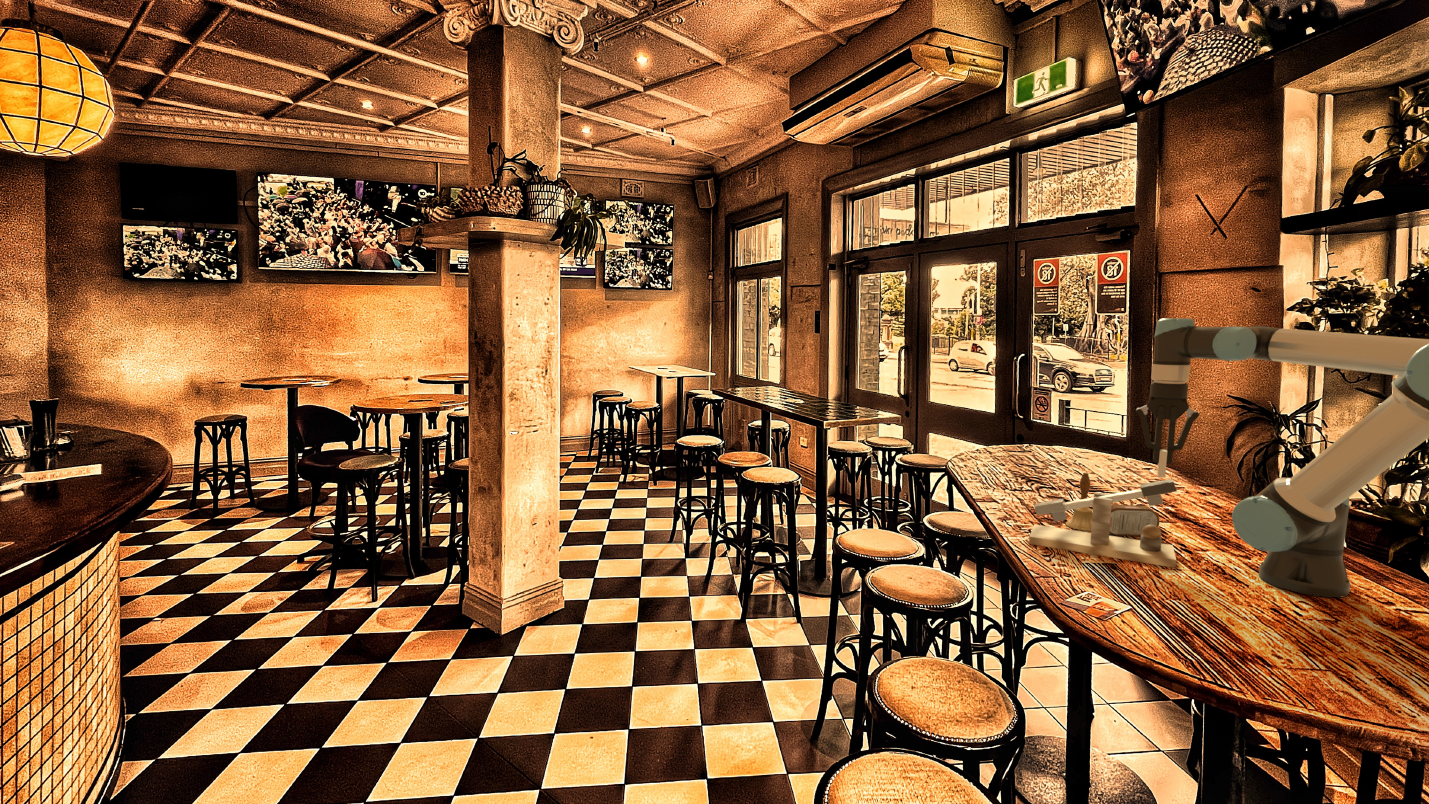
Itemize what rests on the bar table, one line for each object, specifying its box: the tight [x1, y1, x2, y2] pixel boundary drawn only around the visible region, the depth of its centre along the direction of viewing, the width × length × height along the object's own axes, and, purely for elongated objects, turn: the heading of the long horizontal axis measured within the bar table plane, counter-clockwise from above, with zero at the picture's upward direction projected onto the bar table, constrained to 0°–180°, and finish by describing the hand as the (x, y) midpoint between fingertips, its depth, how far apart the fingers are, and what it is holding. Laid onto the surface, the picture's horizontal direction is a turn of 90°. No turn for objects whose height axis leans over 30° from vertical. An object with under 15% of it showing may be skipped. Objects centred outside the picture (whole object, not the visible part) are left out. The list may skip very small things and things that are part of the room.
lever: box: [1033, 478, 1178, 522], centre depth 166 cm, size 32×4×5 cm, turn 56°
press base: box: [1028, 492, 1177, 569], centre depth 166 cm, size 32×12×14 cm, turn 58°
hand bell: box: [1065, 472, 1093, 532], centre depth 184 cm, size 8×8×16 cm
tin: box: [1109, 504, 1160, 537], centre depth 177 cm, size 15×3×8 cm, turn 84°
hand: (1161, 476), depth 158 cm, fingers closed
